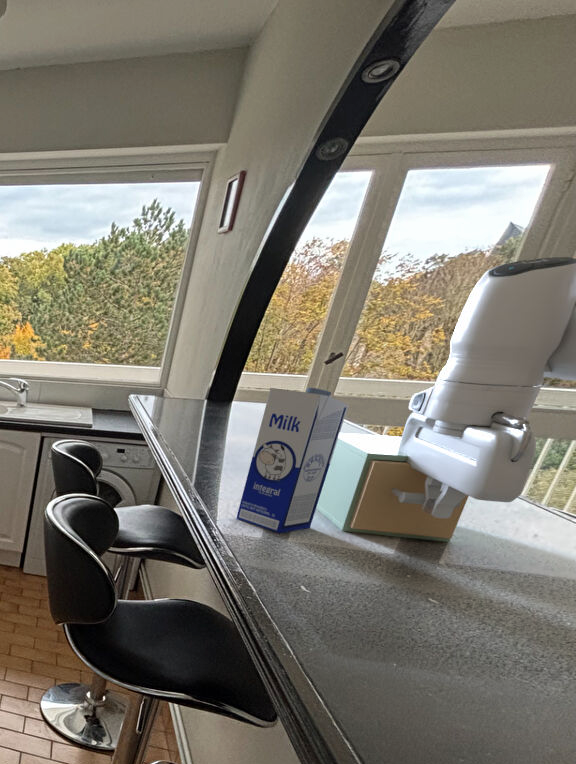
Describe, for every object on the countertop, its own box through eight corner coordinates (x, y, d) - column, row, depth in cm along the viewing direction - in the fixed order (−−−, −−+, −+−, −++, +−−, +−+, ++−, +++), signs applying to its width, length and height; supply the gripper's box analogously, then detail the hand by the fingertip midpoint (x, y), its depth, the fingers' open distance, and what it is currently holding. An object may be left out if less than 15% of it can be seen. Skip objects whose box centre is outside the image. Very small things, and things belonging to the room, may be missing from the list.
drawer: (469, 549, 77) (499, 477, 74) (364, 538, 81) (388, 469, 77) (401, 507, 94) (423, 446, 90) (316, 499, 97) (334, 440, 94)
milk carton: (234, 518, 91) (269, 385, 84) (265, 513, 93) (301, 384, 86) (279, 533, 85) (321, 392, 77) (311, 528, 87) (354, 390, 80)
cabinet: (449, 542, 82) (483, 461, 78) (341, 530, 86) (367, 453, 82) (397, 508, 96) (423, 438, 91) (306, 500, 100) (326, 432, 95)
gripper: (575, 423, 61) (518, 546, 66) (463, 396, 79) (425, 495, 84) (497, 419, 63) (448, 539, 68) (405, 394, 81) (371, 491, 86)
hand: (435, 514), depth 76 cm, fingers closed
